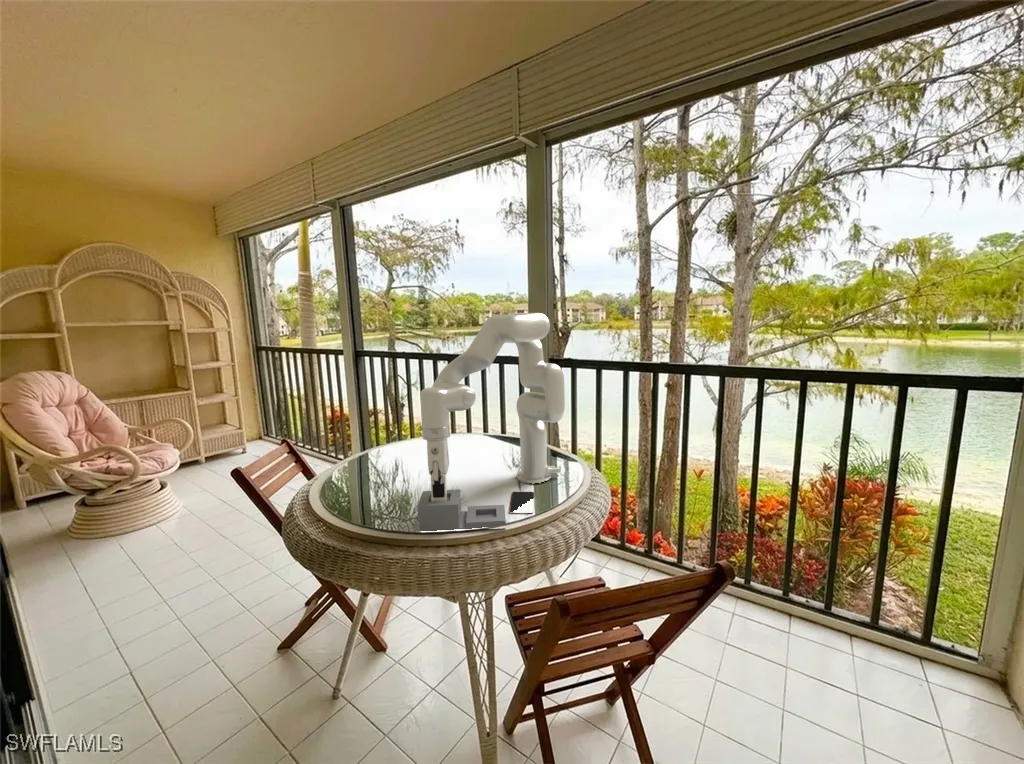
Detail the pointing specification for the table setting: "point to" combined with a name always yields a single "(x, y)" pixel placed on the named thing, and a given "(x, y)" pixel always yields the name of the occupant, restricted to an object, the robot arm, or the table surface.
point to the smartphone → (520, 499)
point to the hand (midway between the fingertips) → (439, 493)
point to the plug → (444, 490)
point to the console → (456, 514)
